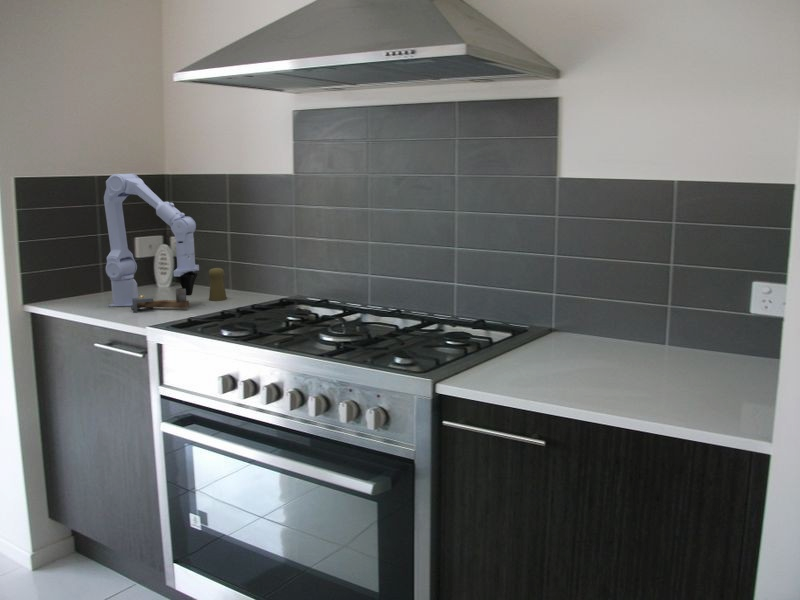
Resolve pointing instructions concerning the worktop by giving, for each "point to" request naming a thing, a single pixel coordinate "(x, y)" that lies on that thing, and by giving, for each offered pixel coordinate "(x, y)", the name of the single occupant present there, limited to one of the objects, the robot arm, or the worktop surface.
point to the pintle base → (142, 307)
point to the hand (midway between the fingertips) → (188, 295)
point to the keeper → (138, 300)
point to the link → (169, 301)
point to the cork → (217, 285)
